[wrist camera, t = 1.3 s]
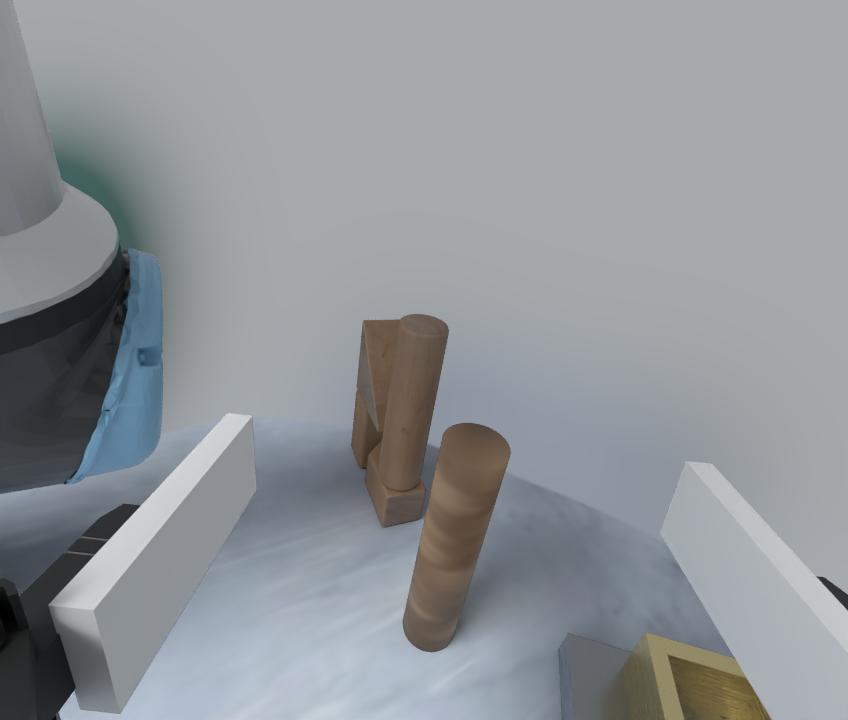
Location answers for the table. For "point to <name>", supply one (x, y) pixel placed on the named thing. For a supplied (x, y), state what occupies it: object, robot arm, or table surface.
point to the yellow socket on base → (653, 682)
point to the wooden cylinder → (453, 531)
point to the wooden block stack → (397, 410)
